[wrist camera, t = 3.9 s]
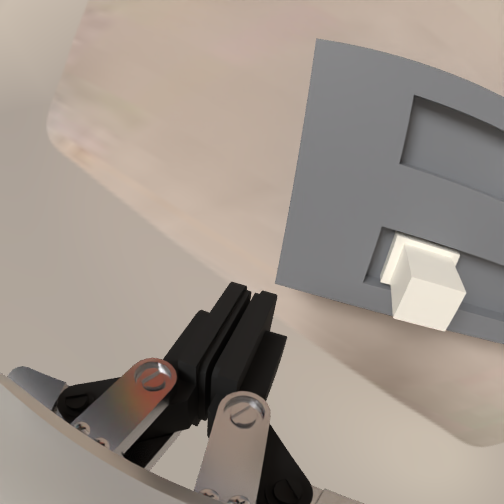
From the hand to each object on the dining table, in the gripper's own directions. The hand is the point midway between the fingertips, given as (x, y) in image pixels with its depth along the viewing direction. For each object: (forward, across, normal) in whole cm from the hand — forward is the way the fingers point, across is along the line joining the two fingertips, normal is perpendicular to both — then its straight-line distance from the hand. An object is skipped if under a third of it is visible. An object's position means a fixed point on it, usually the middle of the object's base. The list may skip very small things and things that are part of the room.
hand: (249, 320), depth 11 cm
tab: (+8, -8, 0) cm, 11 cm away
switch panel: (+10, -11, -4) cm, 15 cm away
